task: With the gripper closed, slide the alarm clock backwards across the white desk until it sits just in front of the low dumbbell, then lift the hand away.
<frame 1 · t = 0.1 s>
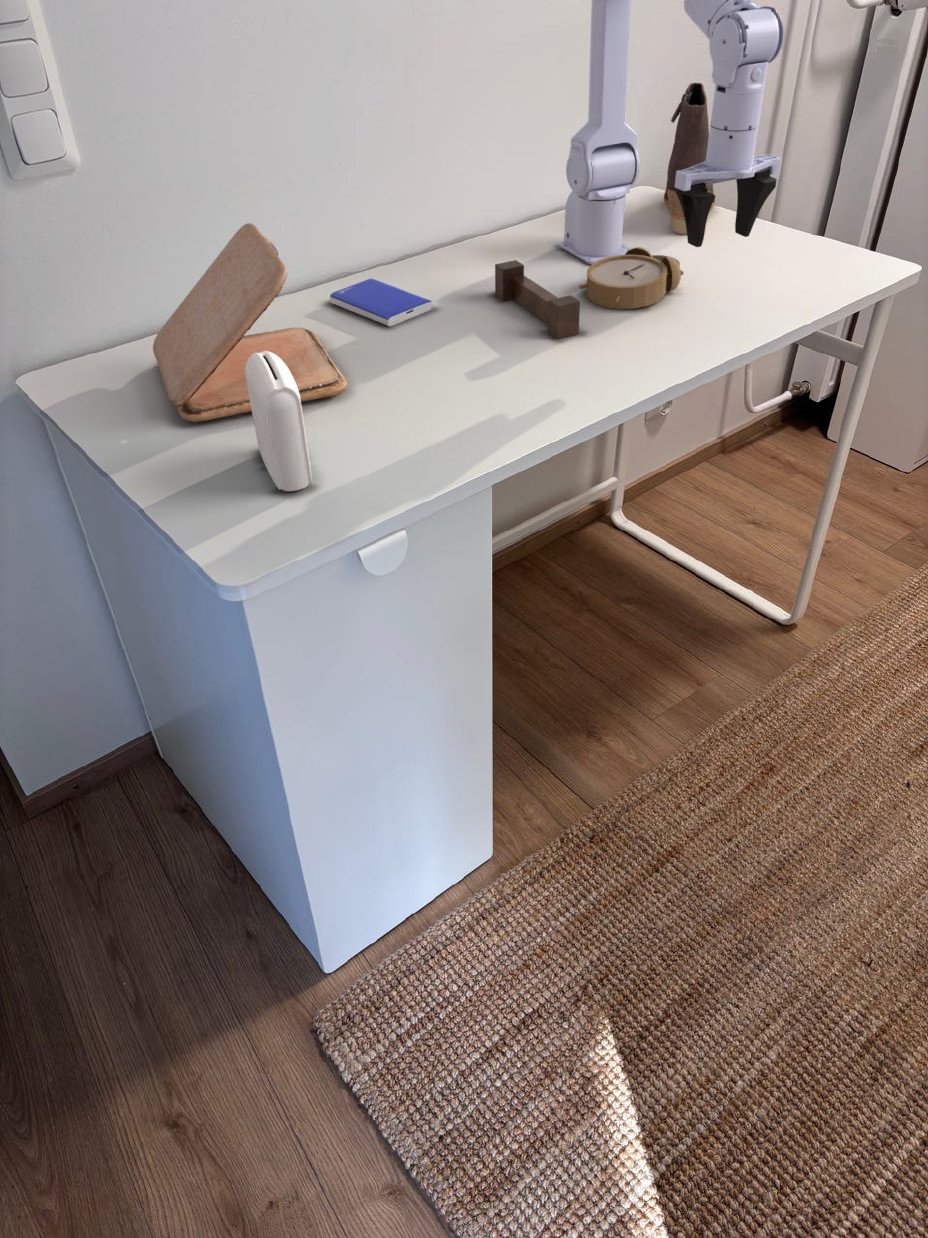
hand: (718, 239, 127), 10 cm above the table, tool pointing down, fingers open, 7 cm apart
hard drive: (381, 308, 139), on the table
alarm clock: (633, 292, 141), on the table
photo printer: (286, 470, 105), on the table
boot: (687, 215, 166), on the table
case: (250, 379, 122), on the table
dumbbell: (540, 312, 135), on the table
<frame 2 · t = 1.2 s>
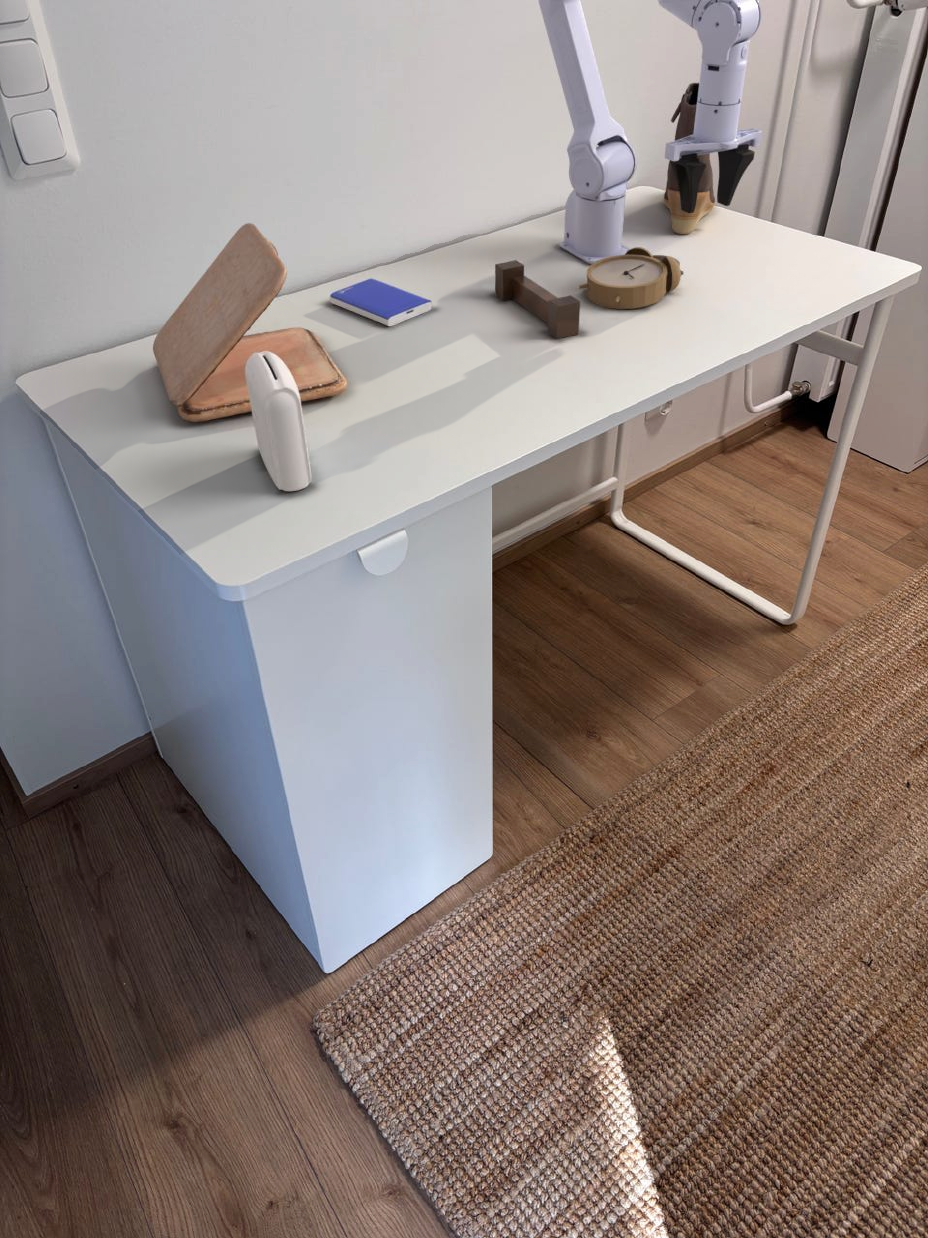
hand: (705, 207, 138), 10 cm above the table, tool pointing down, fingers open, 6 cm apart
nothing on the table moved.
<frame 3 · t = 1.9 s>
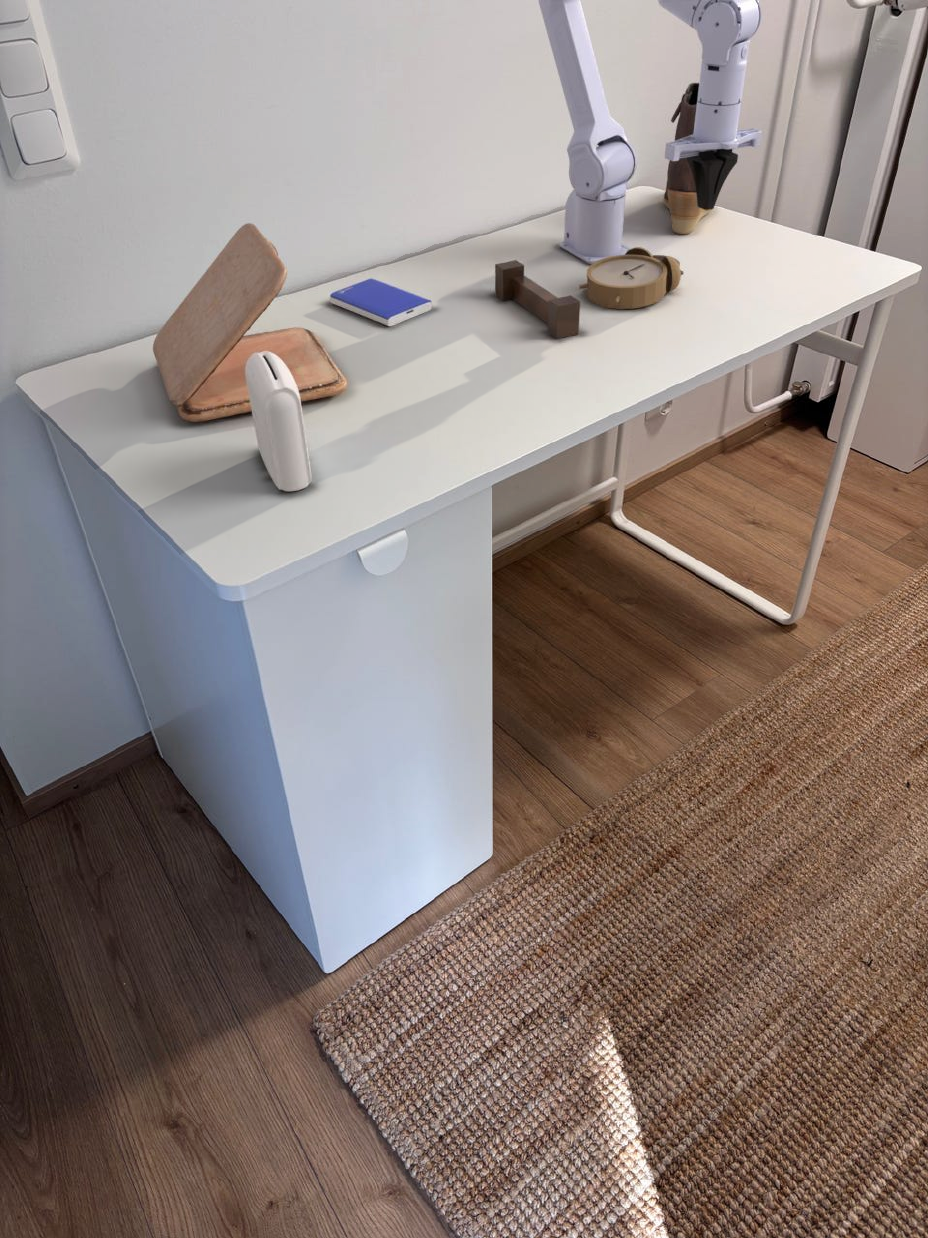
hand: (705, 207, 138), 10 cm above the table, tool pointing down, fingers closed
nothing on the table moved.
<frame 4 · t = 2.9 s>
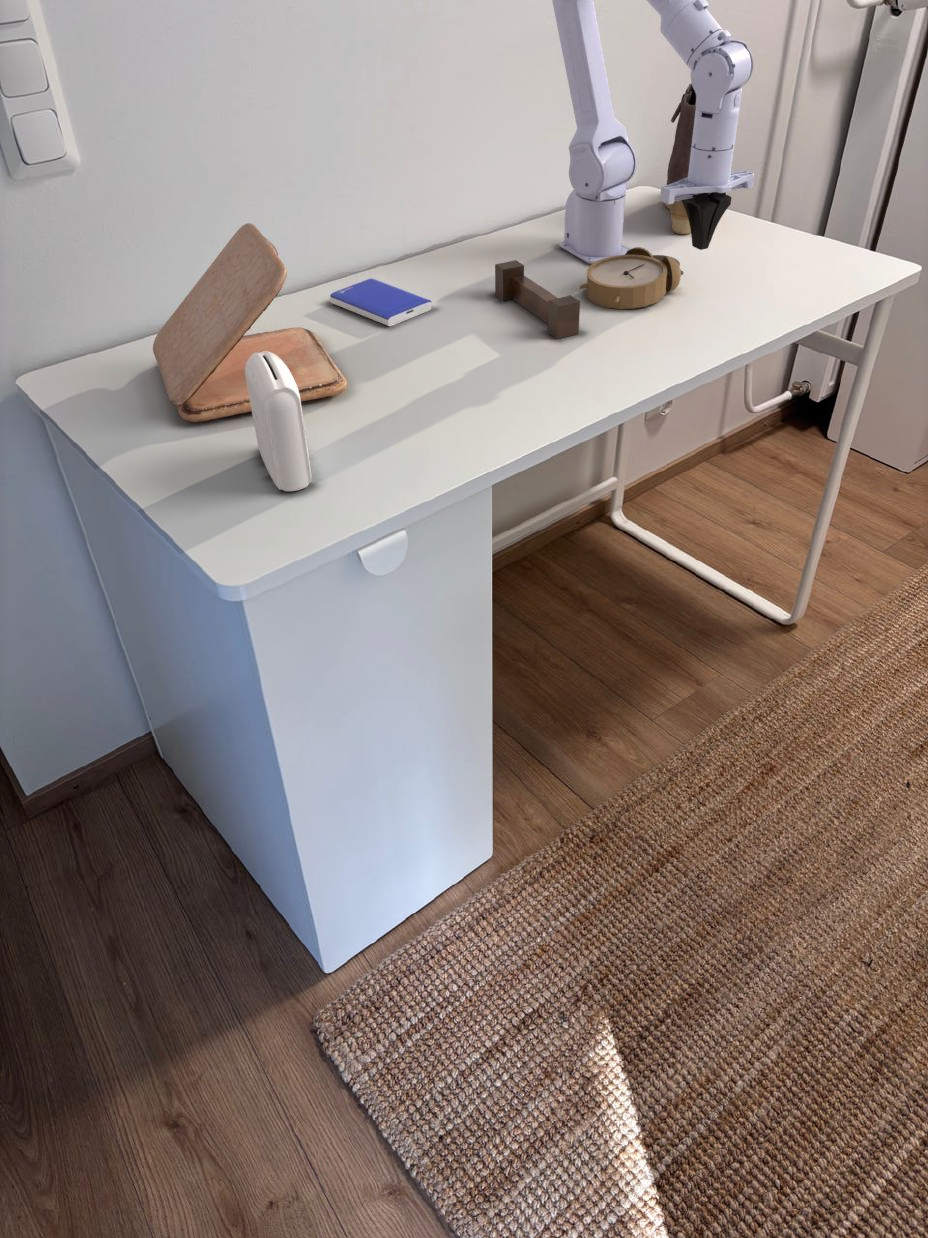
hand: (700, 247, 141), 4 cm above the table, tool pointing down, fingers closed
nothing on the table moved.
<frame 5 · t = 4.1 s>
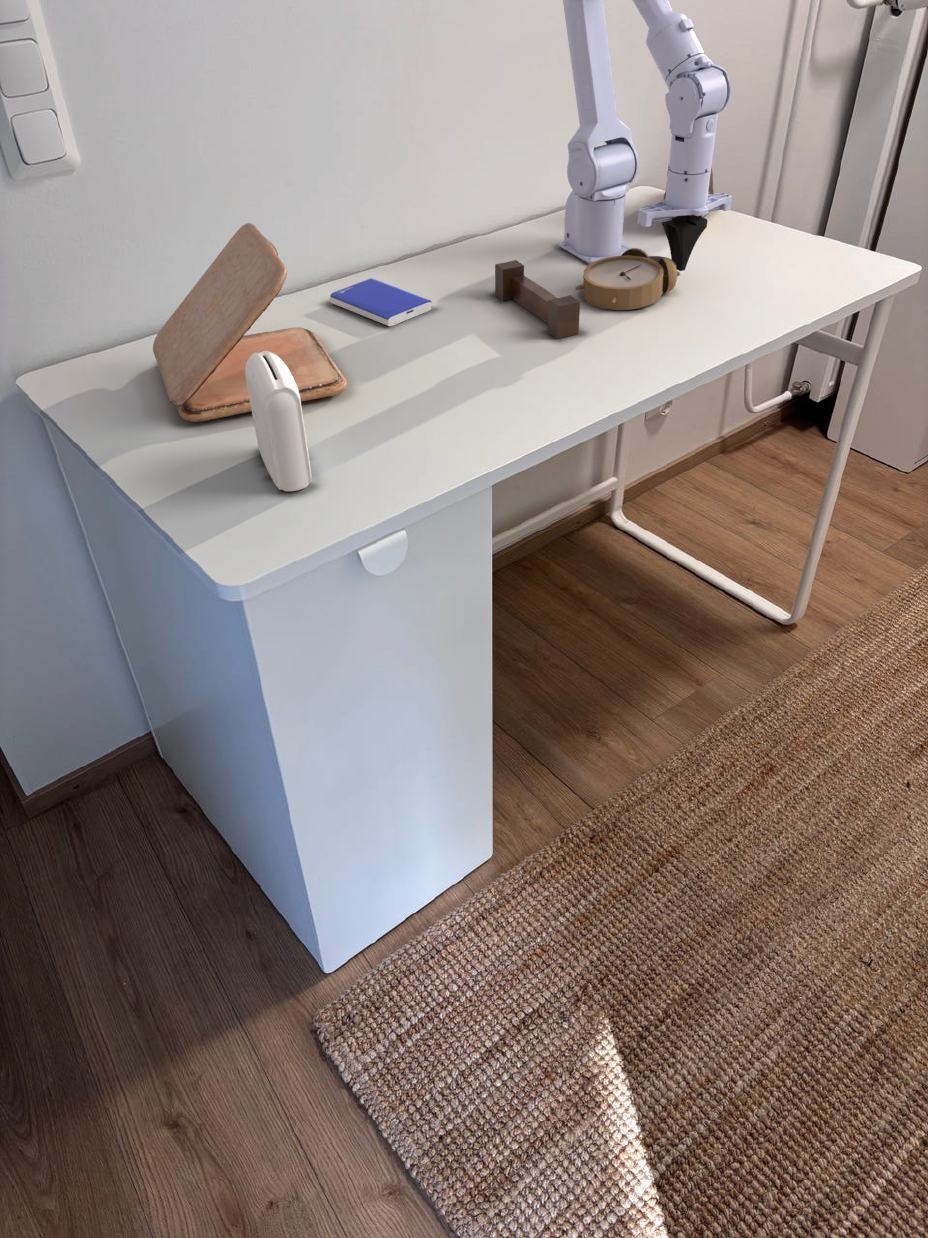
hand: (678, 268, 142), 2 cm above the table, tool pointing down, fingers closed
alarm clock: (630, 293, 140), on the table, touching gripper
everything else where it was.
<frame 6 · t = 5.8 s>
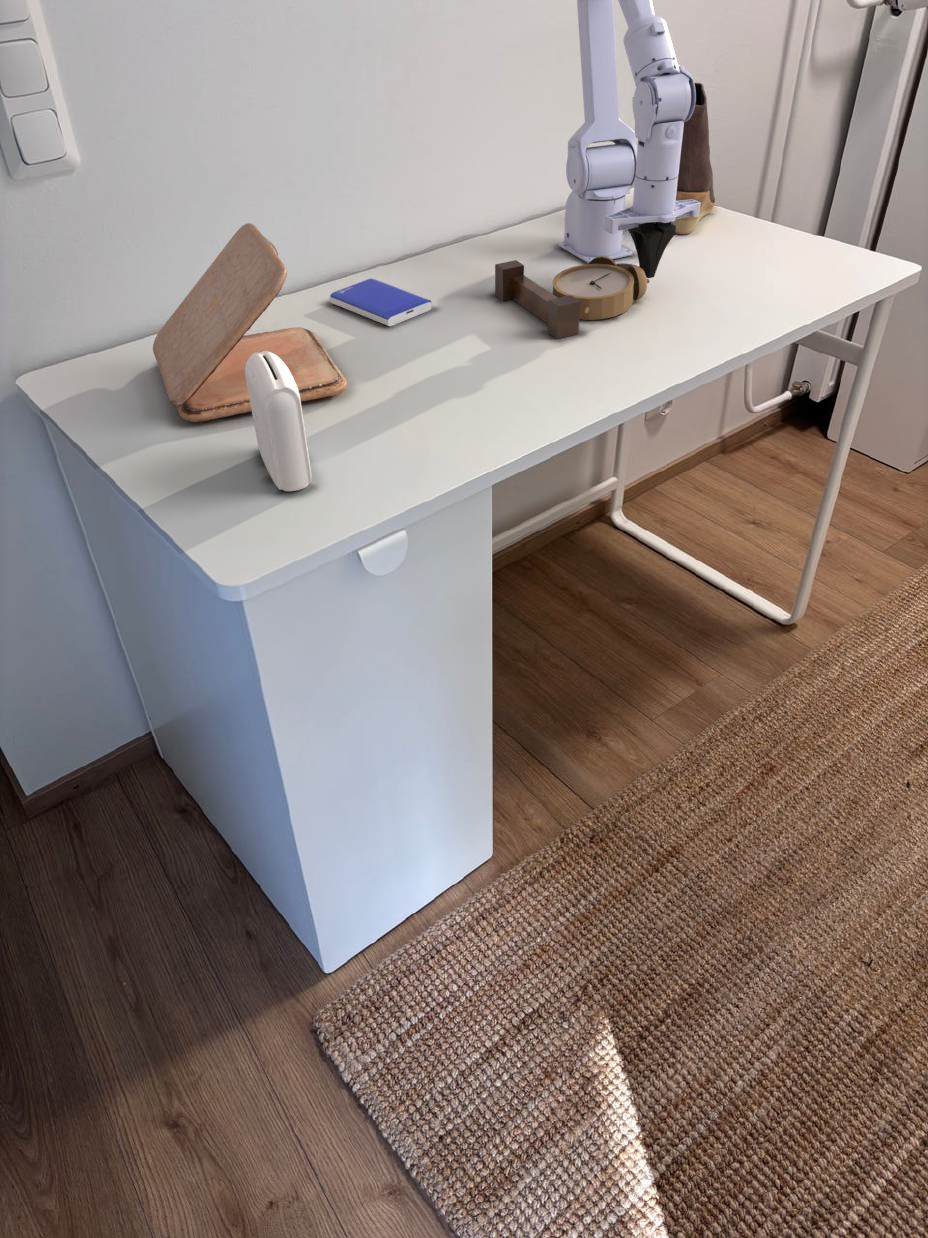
hand: (647, 275, 140), 2 cm above the table, tool pointing down, fingers closed
alarm clock: (600, 302, 138), on the table, touching gripper
everything else where it was.
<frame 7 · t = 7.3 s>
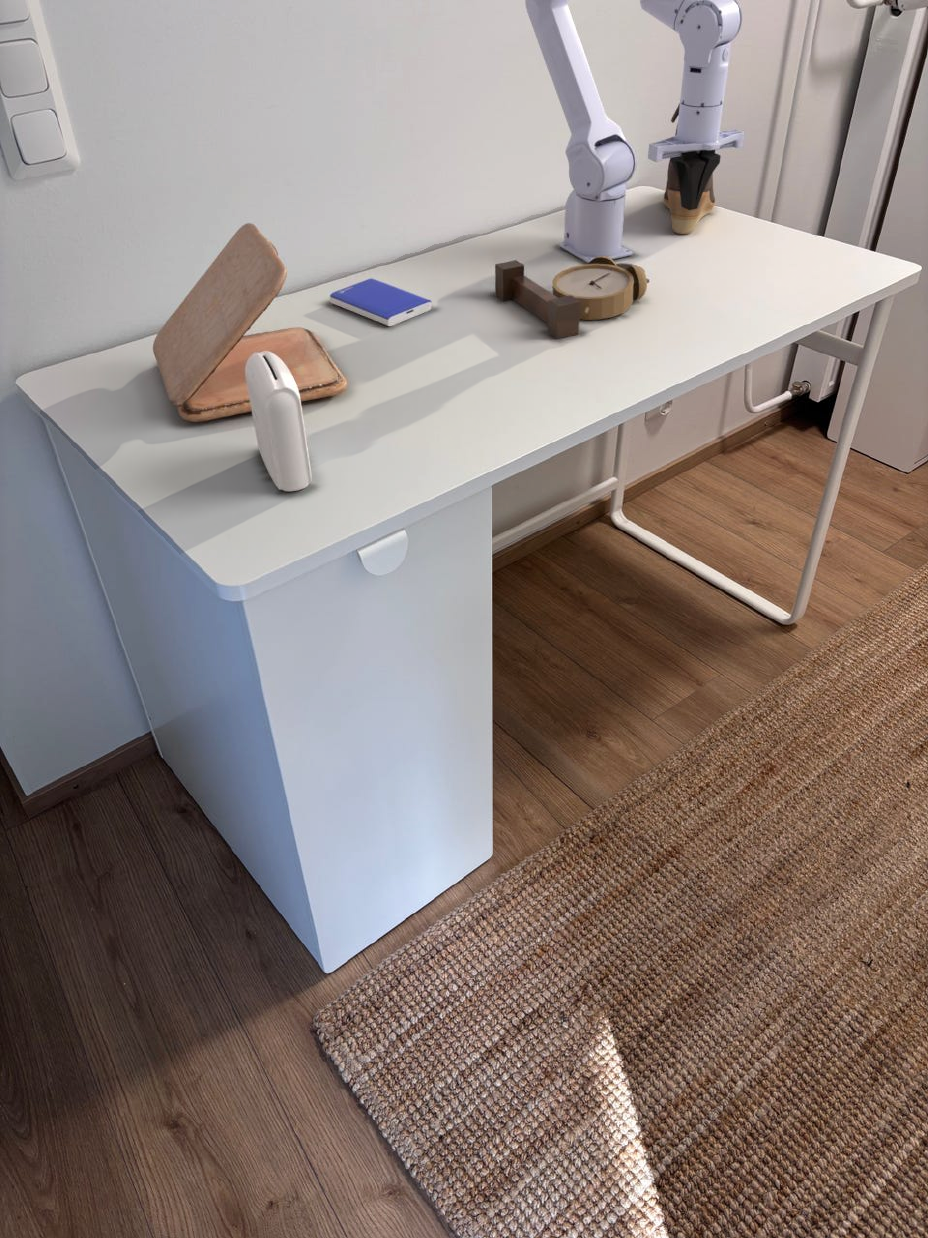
hand: (689, 207, 140), 9 cm above the table, tool pointing down, fingers closed
alarm clock: (600, 302, 138), on the table
everything else where it was.
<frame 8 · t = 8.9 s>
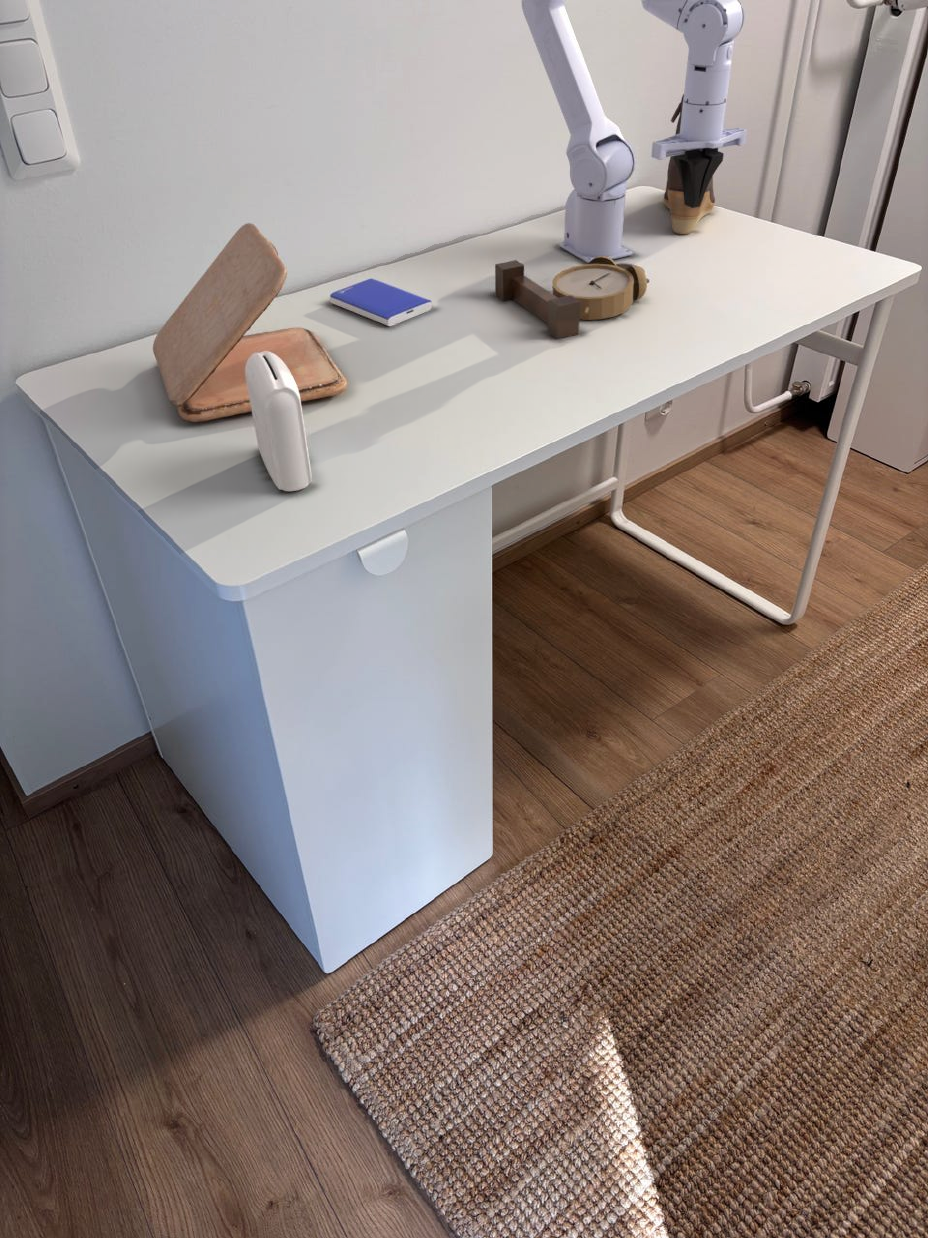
hand: (692, 205, 140), 9 cm above the table, tool pointing down, fingers closed
nothing on the table moved.
at the end: alarm clock inside the target area (0.8 cm from its centre), on the table; alarm clock moved 6.2 cm from its start; alarm clock tilted 0° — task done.
